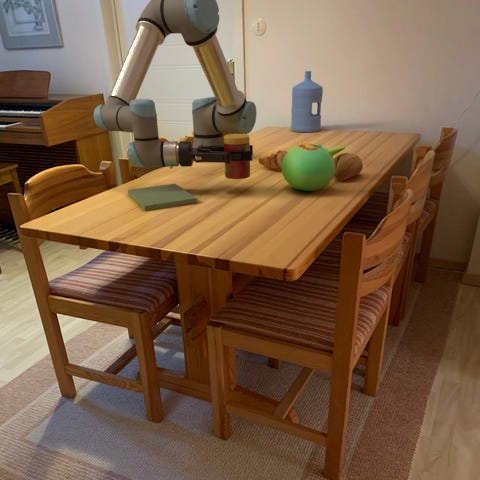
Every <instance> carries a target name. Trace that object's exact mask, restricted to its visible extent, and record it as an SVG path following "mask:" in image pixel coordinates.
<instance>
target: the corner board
mask: <svg viewBox="0 0 480 480" xmlns="http://www.w3.org/2000/svg"><path fill="white" fill-rule="evenodd" d="M127 195H128V196H129V197H130V198H131V199H132V200H133V201H134V202H135V203H136V204H137V205H138V206H140V207H141V208H142V209H143V210H144V211H145V212H148V211H154V210H155V211H156V210H160V209H161V210H162V209H167V208H173V207H180V206H186V205H192V204H198V200H197V199H198V198H197V197H196V196H194V195H193V194H191V193H190V192H188V191H187V190H185V189H184V188H182V187H181V186H179V185H178V184H176V183H168V184H161V185H154V186H153V185H152V186H147V187H140V188H139V187H137V188H132V189H127Z"/></svg>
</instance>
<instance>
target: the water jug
mask: <svg viewBox="0 0 480 480" xmlns="http://www.w3.org/2000/svg"><path fill="white" fill-rule="evenodd" d="M291 88H292V89H291V123H290V130H291V131H292V132H294V133H316V132H319V131H321V128H322V123H321V122H322V114H321V109H322V101H323V93H324V89H323V86H322V85H320V84H319V83H317V82H315V81H313V80H312V70H306V71H304V79H303V80H302V81H301V82H299V83H297V84H296V85H294V86H292V87H291ZM314 103H316V105H317V107H316V108H317V109H316V113H313V104H314Z"/></svg>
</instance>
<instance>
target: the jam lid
mask: <svg viewBox="0 0 480 480" xmlns="http://www.w3.org/2000/svg"><path fill="white" fill-rule="evenodd" d="M250 140H251V139H250V135H249V134H233V133H228V134H225V135H223V141H224V143H225V144H230V145H239V144H246V143H249V142H250ZM250 143H251V142H250Z"/></svg>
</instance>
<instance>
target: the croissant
mask: <svg viewBox="0 0 480 480" xmlns="http://www.w3.org/2000/svg"><path fill="white" fill-rule="evenodd" d="M287 152H288V151H285V150H281V149H280V150H278V151H277V152H276V153H271V154H270V155H268V156H263V157H260V158H257V159H258V161H257V162H258V164H260V165H261V166H263V167H264V168H265V169H267V170H272V171H277V172H278V171H279V172H282V162H283V159H284V157H285V155H286V154H287Z"/></svg>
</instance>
